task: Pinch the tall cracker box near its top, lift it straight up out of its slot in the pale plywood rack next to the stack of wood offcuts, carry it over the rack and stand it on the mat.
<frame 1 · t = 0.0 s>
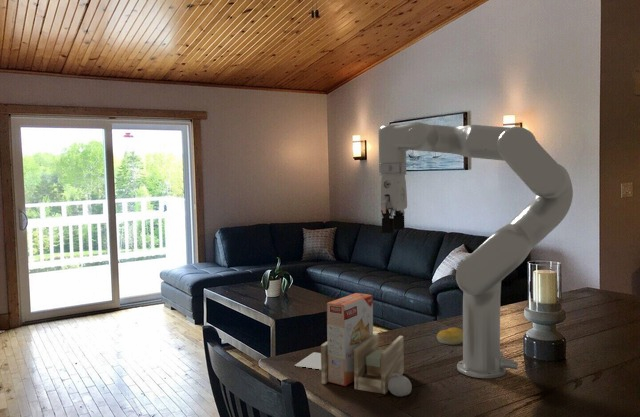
hand: (393, 230, 157), 37 cm above the table, tool pointing down, fingers open, 9 cm apart
offcut a: (379, 382, 144), resting in rack, touching offcut b
offcut b: (380, 370, 144), point 3 cm above the table, touching offcut a, offcut c
offcut c: (379, 361, 143), point 5 cm above the table, touching offcut b
mat: (319, 361, 159), on the table
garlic: (399, 395, 135), on the table
cracker box: (351, 377, 147), on the table
bread roll: (451, 341, 175), on the table
rack: (363, 378, 146), on the table
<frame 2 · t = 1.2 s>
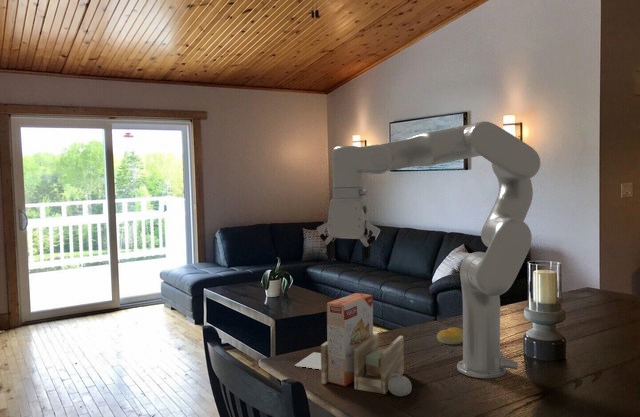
hand: (348, 260, 145), 31 cm above the table, tool pointing down, fingers open, 9 cm apart
offcut b: (380, 370, 144), point 3 cm above the table, touching offcut a
offcut c: (379, 361, 143), point 5 cm above the table
everything else where it was.
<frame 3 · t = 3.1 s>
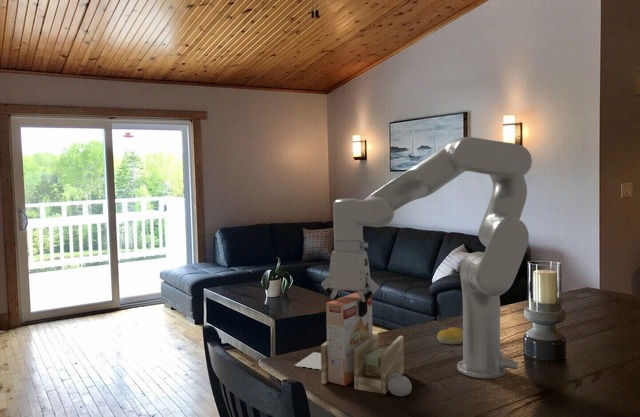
hand: (349, 313, 146), 17 cm above the table, tool pointing down, fingers closed on cracker box, 6 cm apart
offcut b: (379, 370, 144), point 3 cm above the table, touching offcut a, offcut c
offcut c: (378, 361, 143), point 5 cm above the table, touching offcut b
cracker box: (351, 377, 147), on the table, touching gripper
everything else where it was.
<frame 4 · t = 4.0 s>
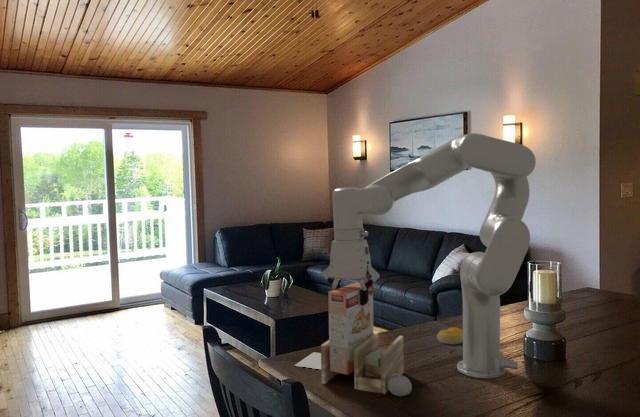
hand: (351, 303, 146), 20 cm above the table, tool pointing down, fingers closed on cracker box, 6 cm apart
cracker box: (353, 366, 147), point 3 cm above the table, touching gripper
everything else where it was.
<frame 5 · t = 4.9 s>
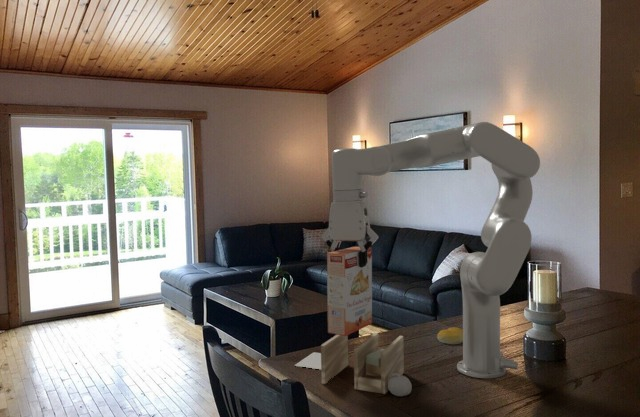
hand: (350, 265, 145), 29 cm above the table, tool pointing down, fingers closed on cracker box, 6 cm apart
cracker box: (351, 329, 146), point 13 cm above the table, touching gripper
everything else where it was.
when the fingers open (18 cm above the table, at t = 9.4 s): cracker box stays where it is, resting on mat.
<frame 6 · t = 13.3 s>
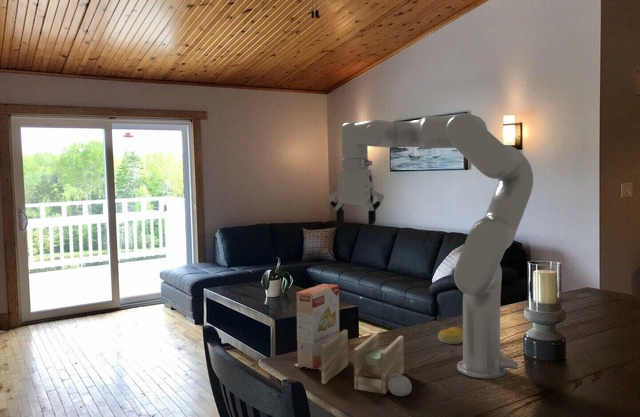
hand: (356, 223, 164), 38 cm above the table, tool pointing down, fingers open, 9 cm apart
cracker box: (319, 361, 159), resting on mat
everything else where it was.
at the end: cracker box 0.1 cm from the mat (horizontally); cracker box tilted 0°; the gripper is holding nothing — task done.
